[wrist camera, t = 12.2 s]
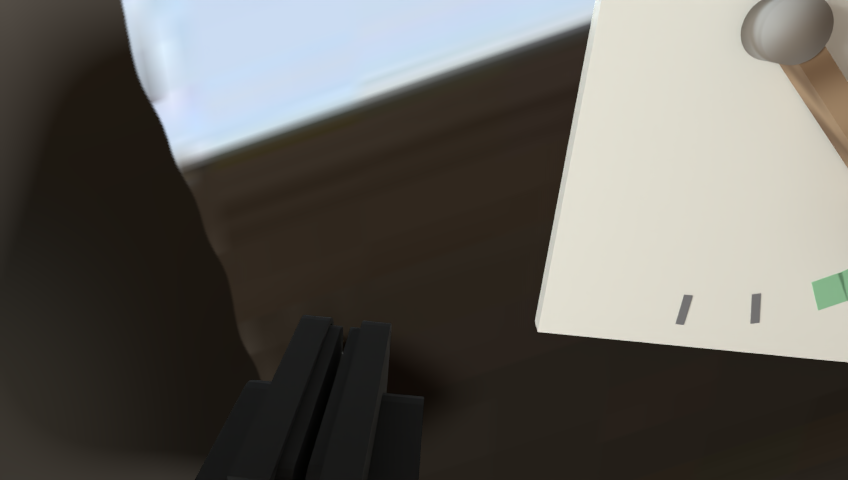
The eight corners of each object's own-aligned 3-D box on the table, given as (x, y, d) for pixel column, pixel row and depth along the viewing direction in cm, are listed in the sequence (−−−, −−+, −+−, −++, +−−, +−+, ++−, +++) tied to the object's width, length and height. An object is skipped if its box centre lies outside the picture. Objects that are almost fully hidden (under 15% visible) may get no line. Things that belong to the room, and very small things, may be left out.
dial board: (603, -44, 34) (610, -46, 32) (1062, -1, 34) (1089, -1, 32) (534, 321, 44) (537, 332, 42) (889, 356, 43) (904, 368, 42)
